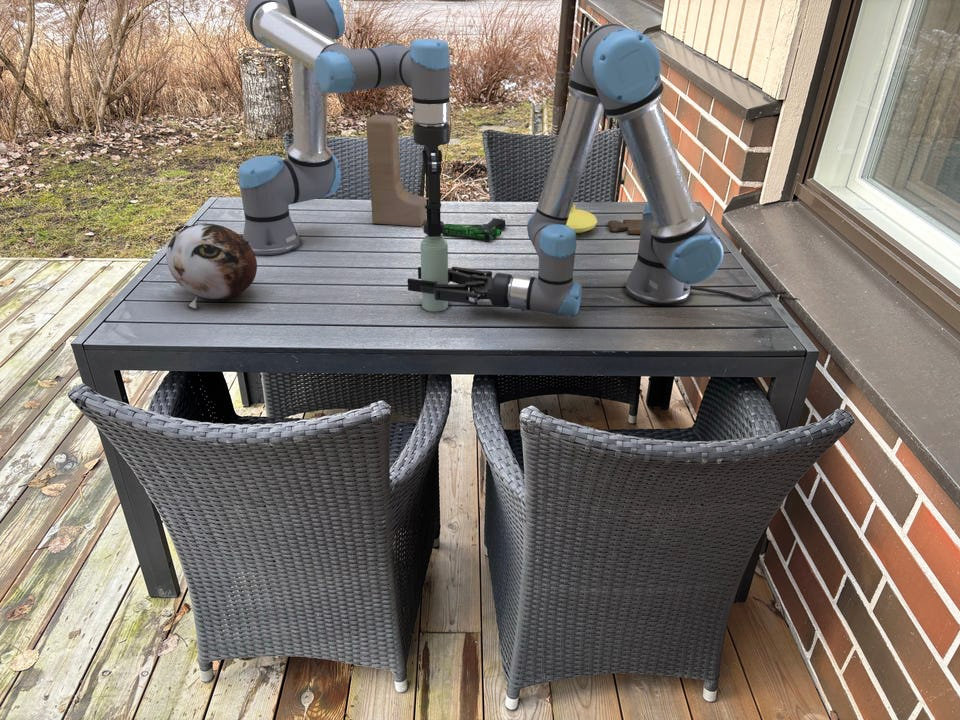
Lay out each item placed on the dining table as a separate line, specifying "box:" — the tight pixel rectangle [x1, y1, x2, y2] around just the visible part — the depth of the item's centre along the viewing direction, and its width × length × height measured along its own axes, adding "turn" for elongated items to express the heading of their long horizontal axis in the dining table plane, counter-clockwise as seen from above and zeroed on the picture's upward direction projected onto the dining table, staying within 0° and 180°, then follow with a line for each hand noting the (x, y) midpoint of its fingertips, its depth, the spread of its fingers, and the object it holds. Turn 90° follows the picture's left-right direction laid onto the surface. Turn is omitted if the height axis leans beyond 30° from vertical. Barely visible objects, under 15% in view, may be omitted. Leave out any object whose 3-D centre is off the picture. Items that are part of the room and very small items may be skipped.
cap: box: [422, 220, 445, 235], centre depth 157 cm, size 4×4×2 cm
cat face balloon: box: [165, 222, 258, 309], centre depth 165 cm, size 22×18×20 cm
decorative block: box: [365, 114, 427, 227], centre depth 207 cm, size 8×15×30 cm, turn 82°
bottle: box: [419, 234, 449, 312], centre depth 161 cm, size 6×6×20 cm
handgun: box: [441, 217, 506, 242], centre depth 207 cm, size 16×3×15 cm
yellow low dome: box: [566, 204, 598, 234], centre depth 209 cm, size 16×16×7 cm
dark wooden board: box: [607, 219, 642, 235], centre depth 211 cm, size 26×2×10 cm
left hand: (433, 231), depth 157 cm, fingers closed on cap, 4 cm apart
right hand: (413, 278), depth 164 cm, fingers closed on bottle, 6 cm apart
